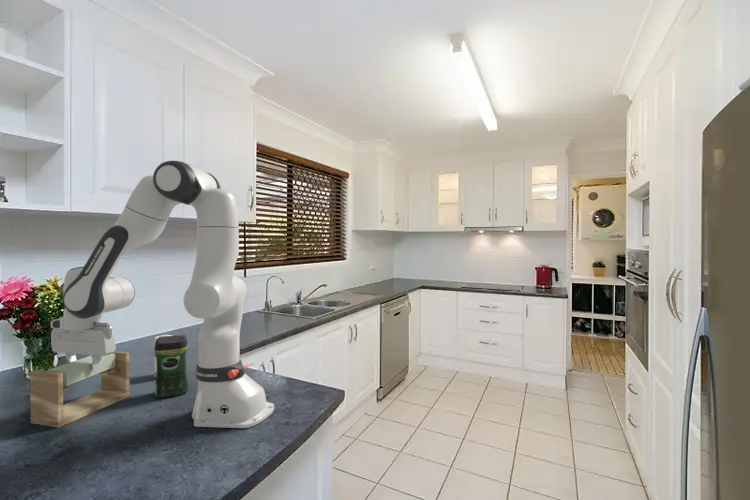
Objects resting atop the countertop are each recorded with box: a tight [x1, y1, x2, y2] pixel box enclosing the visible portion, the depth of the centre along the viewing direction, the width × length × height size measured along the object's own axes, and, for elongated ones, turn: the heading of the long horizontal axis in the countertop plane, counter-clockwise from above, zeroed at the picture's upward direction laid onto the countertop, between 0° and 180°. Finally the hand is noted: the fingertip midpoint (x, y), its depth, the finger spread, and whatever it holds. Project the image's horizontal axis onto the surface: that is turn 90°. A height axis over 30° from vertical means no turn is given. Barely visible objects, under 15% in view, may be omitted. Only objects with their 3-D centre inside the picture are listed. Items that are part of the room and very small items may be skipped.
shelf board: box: [46, 354, 115, 387], centre depth 108 cm, size 16×6×4 cm, turn 173°
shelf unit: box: [29, 350, 131, 428], centre depth 108 cm, size 21×10×14 cm, turn 165°
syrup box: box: [153, 334, 173, 378], centre depth 136 cm, size 6×6×14 cm
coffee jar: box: [153, 334, 190, 398], centre depth 120 cm, size 10×8×19 cm
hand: (83, 368), depth 108 cm, fingers closed on shelf board, 6 cm apart
